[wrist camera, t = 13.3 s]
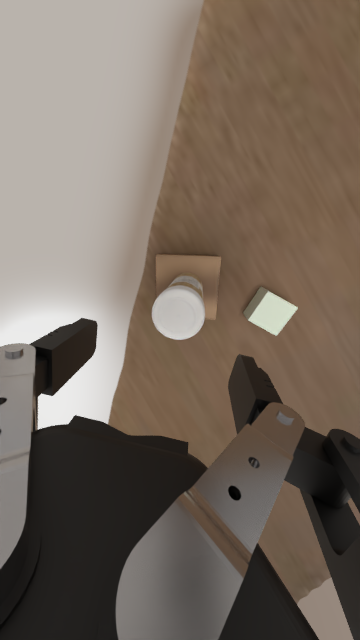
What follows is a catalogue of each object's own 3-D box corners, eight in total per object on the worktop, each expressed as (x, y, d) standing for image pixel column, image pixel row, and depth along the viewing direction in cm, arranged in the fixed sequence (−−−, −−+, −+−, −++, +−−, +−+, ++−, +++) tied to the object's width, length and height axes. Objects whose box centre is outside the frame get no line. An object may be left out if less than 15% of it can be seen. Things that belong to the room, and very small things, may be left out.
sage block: (260, 286, 33) (268, 291, 29) (287, 301, 33) (298, 307, 29) (242, 312, 34) (247, 320, 31) (268, 326, 35) (276, 335, 31)
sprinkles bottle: (196, 307, 31) (193, 349, 18) (167, 296, 30) (143, 330, 18) (208, 278, 29) (214, 301, 16) (177, 266, 29) (160, 280, 16)
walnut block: (160, 253, 32) (155, 254, 29) (218, 255, 32) (221, 256, 28) (160, 309, 35) (156, 316, 32) (213, 311, 35) (215, 319, 31)
